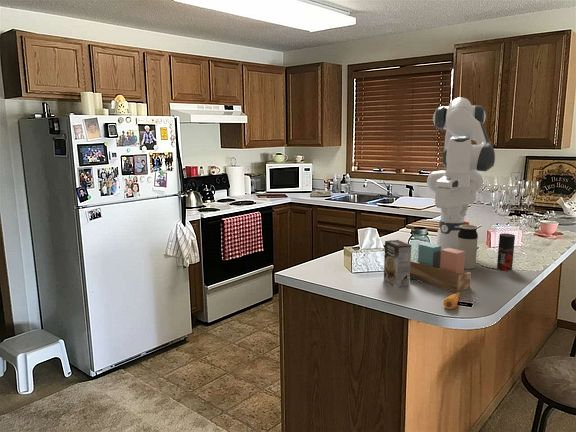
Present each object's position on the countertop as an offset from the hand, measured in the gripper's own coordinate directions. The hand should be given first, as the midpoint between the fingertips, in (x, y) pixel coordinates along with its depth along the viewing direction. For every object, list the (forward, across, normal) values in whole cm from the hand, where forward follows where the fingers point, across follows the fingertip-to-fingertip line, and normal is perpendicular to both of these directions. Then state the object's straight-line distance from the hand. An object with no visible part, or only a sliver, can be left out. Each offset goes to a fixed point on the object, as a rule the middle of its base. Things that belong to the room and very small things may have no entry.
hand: (455, 217), depth 175 cm
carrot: (+27, +12, +11) cm, 32 cm away
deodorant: (+27, -36, +1) cm, 45 cm away
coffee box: (+27, +14, -15) cm, 34 cm away
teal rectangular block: (+25, 0, -10) cm, 27 cm away
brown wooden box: (+27, +1, -5) cm, 27 cm away
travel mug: (+27, -26, -11) cm, 39 cm away
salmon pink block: (+25, 0, 0) cm, 25 cm away
